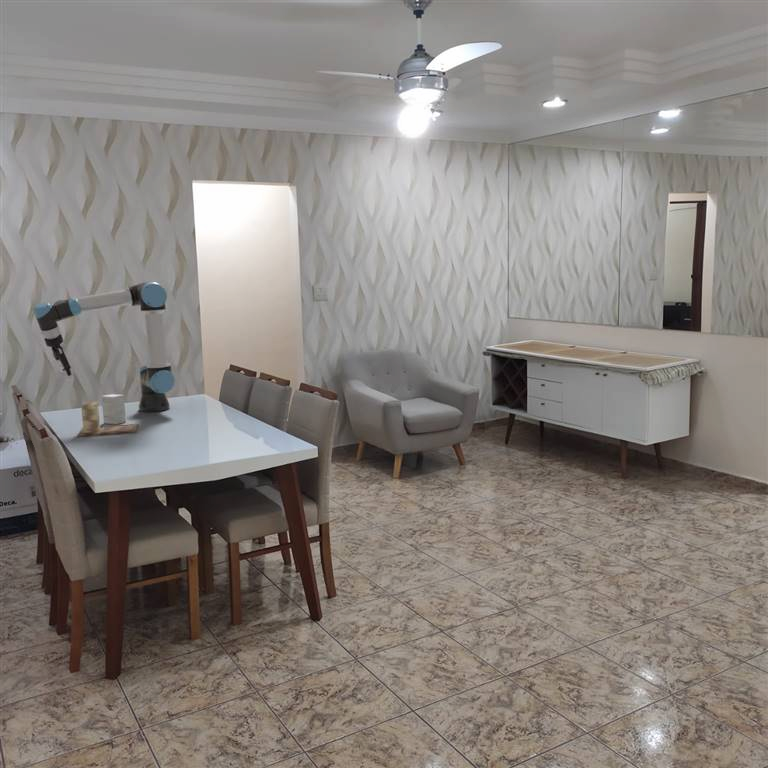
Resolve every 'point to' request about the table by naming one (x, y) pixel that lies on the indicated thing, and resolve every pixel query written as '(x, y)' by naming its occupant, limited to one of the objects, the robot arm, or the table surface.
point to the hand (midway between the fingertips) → (67, 376)
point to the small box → (113, 409)
